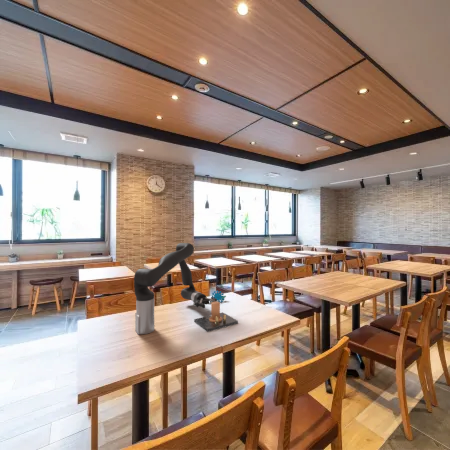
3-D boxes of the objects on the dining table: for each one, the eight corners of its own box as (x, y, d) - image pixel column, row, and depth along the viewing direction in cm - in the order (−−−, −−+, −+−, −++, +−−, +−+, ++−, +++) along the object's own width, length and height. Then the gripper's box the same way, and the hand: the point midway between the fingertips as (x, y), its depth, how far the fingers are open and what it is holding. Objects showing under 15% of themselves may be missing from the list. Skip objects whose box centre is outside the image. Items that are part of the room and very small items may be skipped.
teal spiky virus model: (212, 302, 173) (211, 289, 180) (210, 306, 176) (209, 293, 184) (227, 302, 176) (225, 290, 183) (224, 306, 180) (223, 294, 187)
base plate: (207, 331, 128) (207, 321, 128) (194, 321, 142) (194, 312, 142) (237, 323, 139) (237, 313, 139) (222, 314, 153) (222, 306, 153)
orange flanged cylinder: (213, 323, 135) (213, 305, 135) (206, 319, 142) (206, 302, 142) (224, 320, 140) (224, 303, 140) (217, 316, 146) (217, 299, 146)
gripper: (188, 294, 155) (200, 301, 141) (208, 290, 163) (220, 297, 149) (188, 306, 155) (200, 313, 142) (208, 302, 163) (220, 309, 149)
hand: (210, 305), depth 145 cm, fingers open, 8 cm apart
